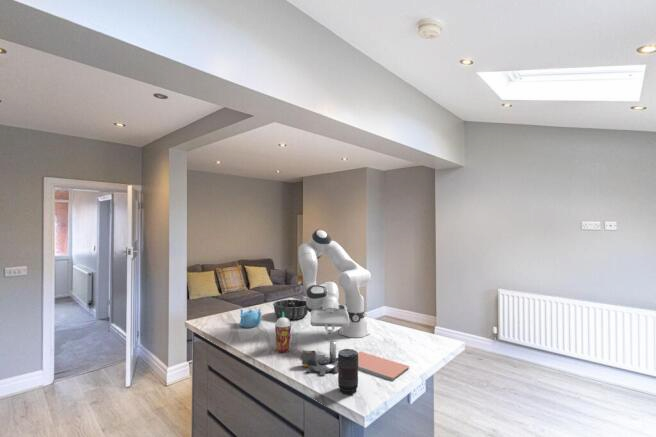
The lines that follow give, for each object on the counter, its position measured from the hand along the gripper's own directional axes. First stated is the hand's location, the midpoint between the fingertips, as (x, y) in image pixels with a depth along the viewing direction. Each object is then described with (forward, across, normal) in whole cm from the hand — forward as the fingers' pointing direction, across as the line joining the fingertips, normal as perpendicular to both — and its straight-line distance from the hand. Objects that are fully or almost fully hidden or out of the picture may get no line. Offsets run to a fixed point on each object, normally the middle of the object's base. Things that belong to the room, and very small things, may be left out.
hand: (329, 333), depth 164 cm
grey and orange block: (+16, -9, -3) cm, 19 cm away
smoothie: (+5, -24, +11) cm, 27 cm away
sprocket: (+17, -3, -2) cm, 17 cm away
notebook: (+16, +21, 0) cm, 27 cm away
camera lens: (+32, +8, -17) cm, 38 cm away
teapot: (-26, -52, +42) cm, 72 cm away
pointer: (+11, -11, +4) cm, 17 cm away
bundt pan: (-41, -28, +58) cm, 76 cm away
